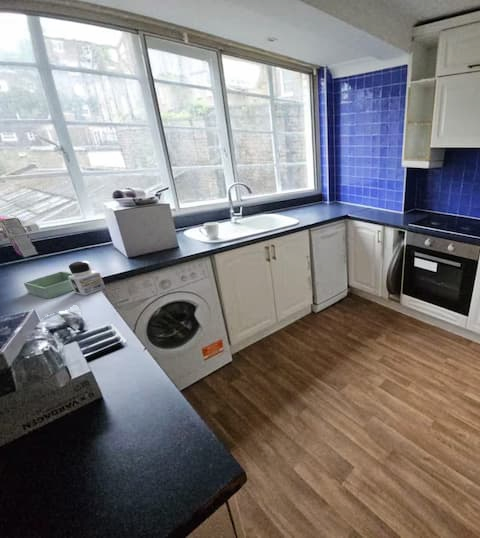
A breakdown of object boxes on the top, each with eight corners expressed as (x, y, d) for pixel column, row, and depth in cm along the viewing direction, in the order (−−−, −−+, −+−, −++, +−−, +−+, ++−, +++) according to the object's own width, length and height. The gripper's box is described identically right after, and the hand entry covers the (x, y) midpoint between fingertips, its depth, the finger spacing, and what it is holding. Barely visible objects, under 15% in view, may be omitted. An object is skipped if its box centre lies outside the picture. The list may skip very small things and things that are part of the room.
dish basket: (49, 298, 121) (44, 288, 119) (28, 292, 126) (23, 282, 124) (86, 285, 132) (82, 275, 130) (66, 280, 138) (61, 271, 136)
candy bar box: (15, 253, 128) (-6, 217, 121) (31, 249, 132) (11, 214, 125) (22, 258, 123) (0, 220, 116) (39, 254, 127) (18, 216, 120)
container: (85, 295, 122) (72, 267, 117) (74, 293, 125) (61, 264, 120) (106, 287, 129) (94, 260, 124) (95, 285, 131) (83, 258, 126)
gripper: (-41, 230, 119) (-25, 233, 115) (26, 218, 137) (42, 220, 132) (-32, 244, 122) (-17, 248, 117) (33, 231, 139) (49, 234, 134)
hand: (15, 233), depth 125 cm, fingers closed on candy bar box, 5 cm apart
